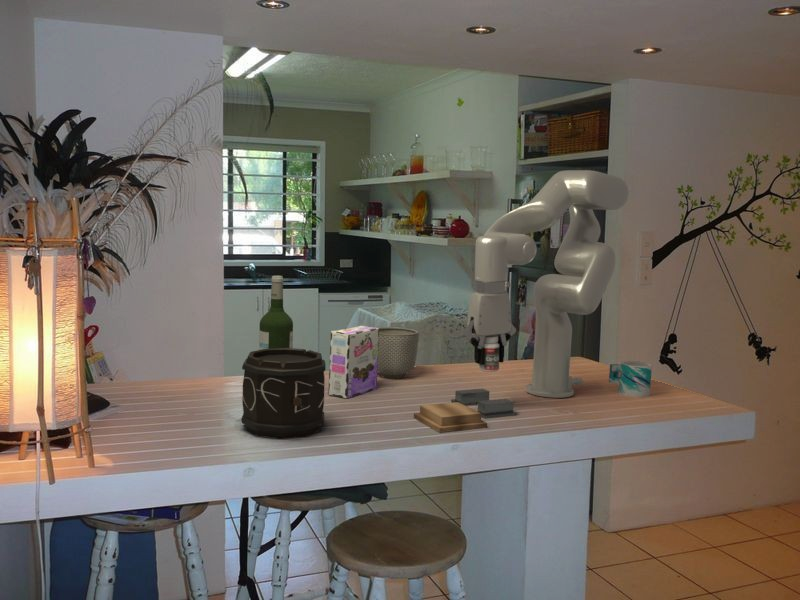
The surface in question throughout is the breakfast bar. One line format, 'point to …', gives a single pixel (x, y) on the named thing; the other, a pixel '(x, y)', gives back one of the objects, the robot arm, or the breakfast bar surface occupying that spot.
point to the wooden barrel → (283, 392)
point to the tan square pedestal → (450, 417)
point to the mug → (632, 378)
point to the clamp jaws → (485, 403)
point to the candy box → (353, 361)
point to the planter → (396, 351)
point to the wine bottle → (276, 321)
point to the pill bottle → (490, 354)
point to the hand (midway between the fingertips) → (489, 361)
